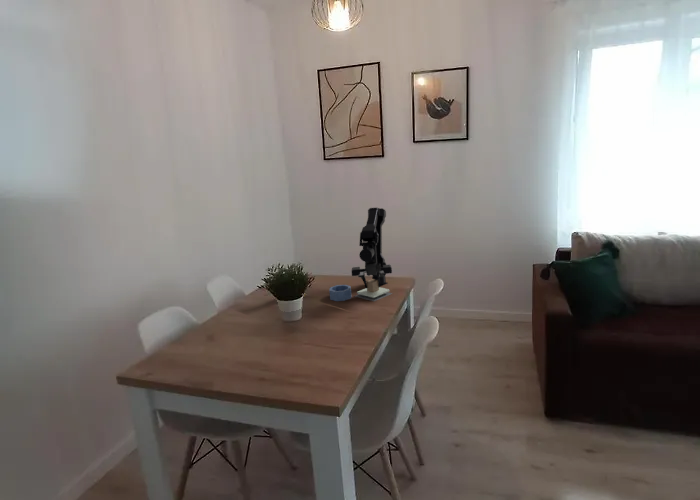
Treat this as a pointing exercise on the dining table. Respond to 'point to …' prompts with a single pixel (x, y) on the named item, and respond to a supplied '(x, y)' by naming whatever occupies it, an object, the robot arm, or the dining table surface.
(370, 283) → the lid
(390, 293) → the mat
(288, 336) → the dining table surface
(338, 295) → the bowl
